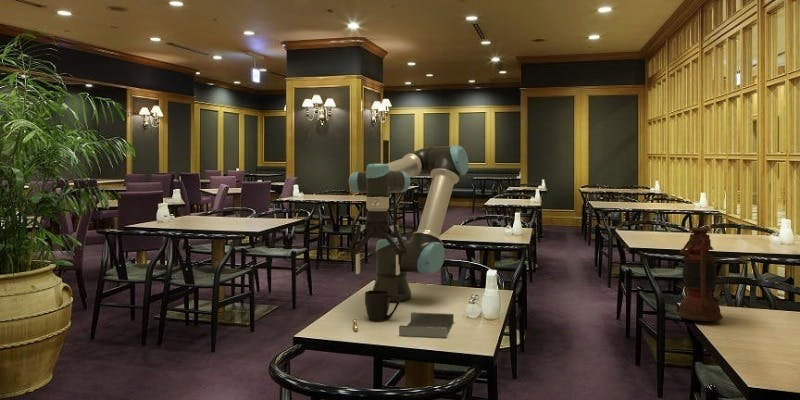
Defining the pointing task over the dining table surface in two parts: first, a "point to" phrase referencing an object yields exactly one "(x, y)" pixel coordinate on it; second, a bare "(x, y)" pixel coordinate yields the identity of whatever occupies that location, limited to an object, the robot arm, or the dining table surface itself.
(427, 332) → the cradle
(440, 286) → the dining table surface
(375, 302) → the mug
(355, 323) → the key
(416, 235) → the robot arm
